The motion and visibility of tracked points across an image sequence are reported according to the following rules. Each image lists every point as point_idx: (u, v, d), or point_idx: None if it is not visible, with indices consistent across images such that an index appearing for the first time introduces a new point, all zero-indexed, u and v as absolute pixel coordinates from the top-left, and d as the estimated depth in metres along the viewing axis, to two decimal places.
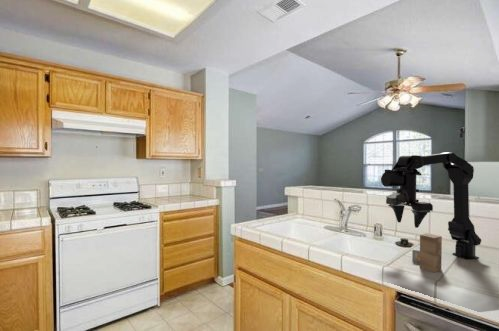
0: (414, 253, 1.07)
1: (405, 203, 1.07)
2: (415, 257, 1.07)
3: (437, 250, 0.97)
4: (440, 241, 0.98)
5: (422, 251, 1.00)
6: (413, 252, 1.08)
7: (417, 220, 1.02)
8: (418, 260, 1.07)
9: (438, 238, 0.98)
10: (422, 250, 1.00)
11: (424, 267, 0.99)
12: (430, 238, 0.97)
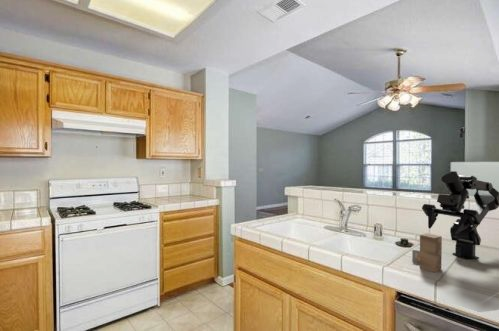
0: (414, 253, 1.07)
1: (450, 210, 1.05)
2: (415, 257, 1.07)
3: (437, 250, 0.97)
4: (440, 241, 0.98)
5: (422, 251, 1.00)
6: (413, 252, 1.08)
7: (461, 226, 0.99)
8: (418, 260, 1.07)
9: (438, 238, 0.98)
10: (422, 250, 1.00)
11: (424, 267, 0.99)
12: (430, 238, 0.97)
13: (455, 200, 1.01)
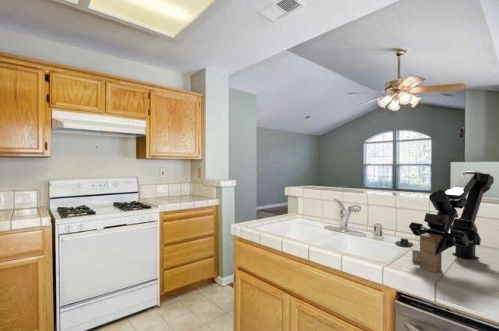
0: (414, 253, 1.07)
1: (443, 231, 0.99)
2: (415, 257, 1.07)
3: None
4: (440, 241, 0.98)
5: (422, 251, 1.00)
6: (413, 252, 1.08)
7: (442, 246, 0.97)
8: (418, 260, 1.07)
9: (438, 238, 0.98)
10: (422, 250, 1.00)
11: (424, 267, 0.99)
12: (430, 238, 0.97)
13: (442, 220, 0.97)
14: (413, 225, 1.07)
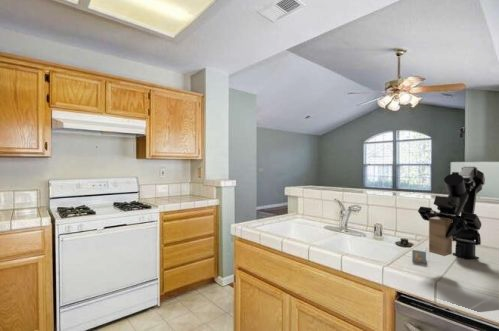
0: (414, 253, 1.07)
1: (454, 215, 0.96)
2: (415, 257, 1.07)
3: None
4: (450, 224, 0.95)
5: (431, 235, 0.97)
6: (413, 252, 1.08)
7: (452, 229, 0.93)
8: (418, 260, 1.07)
9: (448, 221, 0.94)
10: (431, 233, 0.97)
11: (434, 251, 0.96)
12: (440, 221, 0.94)
13: (453, 203, 0.94)
14: (422, 209, 1.04)
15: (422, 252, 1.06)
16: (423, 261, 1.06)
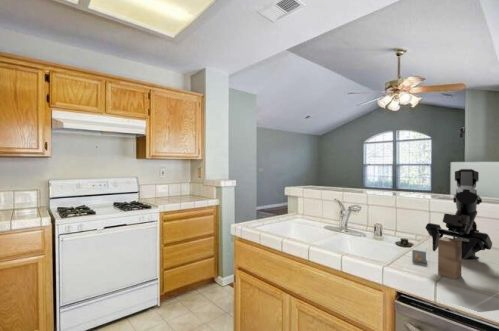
0: (414, 253, 1.07)
1: (457, 232, 0.95)
2: (415, 257, 1.07)
3: (457, 255, 0.92)
4: (460, 246, 0.93)
5: (441, 256, 0.94)
6: (413, 252, 1.08)
7: (469, 251, 0.89)
8: (418, 260, 1.07)
9: (458, 243, 0.92)
10: (440, 255, 0.94)
11: (443, 273, 0.94)
12: (450, 243, 0.92)
13: (463, 221, 0.91)
14: (430, 226, 1.02)
15: (422, 252, 1.06)
16: (423, 261, 1.06)
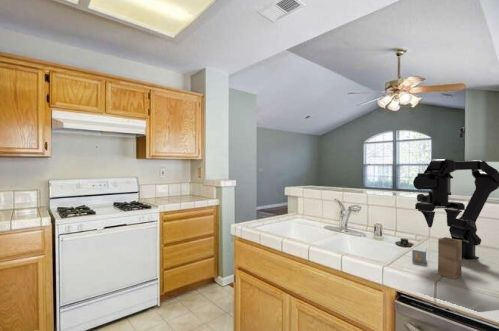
0: (414, 253, 1.07)
1: (435, 205, 1.12)
2: (415, 257, 1.07)
3: (457, 255, 0.92)
4: (460, 246, 0.93)
5: (441, 256, 0.94)
6: (413, 252, 1.08)
7: (426, 219, 1.10)
8: (418, 260, 1.07)
9: (458, 243, 0.92)
10: (440, 255, 0.94)
11: (443, 273, 0.94)
12: (450, 243, 0.92)
13: None
14: None
15: (422, 252, 1.06)
16: (423, 261, 1.06)
